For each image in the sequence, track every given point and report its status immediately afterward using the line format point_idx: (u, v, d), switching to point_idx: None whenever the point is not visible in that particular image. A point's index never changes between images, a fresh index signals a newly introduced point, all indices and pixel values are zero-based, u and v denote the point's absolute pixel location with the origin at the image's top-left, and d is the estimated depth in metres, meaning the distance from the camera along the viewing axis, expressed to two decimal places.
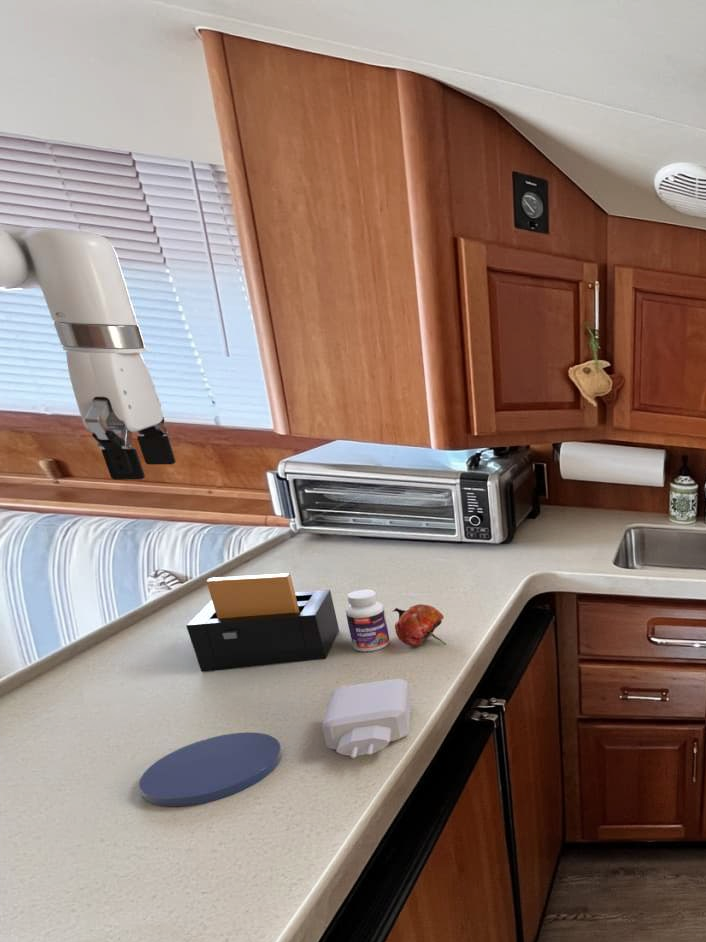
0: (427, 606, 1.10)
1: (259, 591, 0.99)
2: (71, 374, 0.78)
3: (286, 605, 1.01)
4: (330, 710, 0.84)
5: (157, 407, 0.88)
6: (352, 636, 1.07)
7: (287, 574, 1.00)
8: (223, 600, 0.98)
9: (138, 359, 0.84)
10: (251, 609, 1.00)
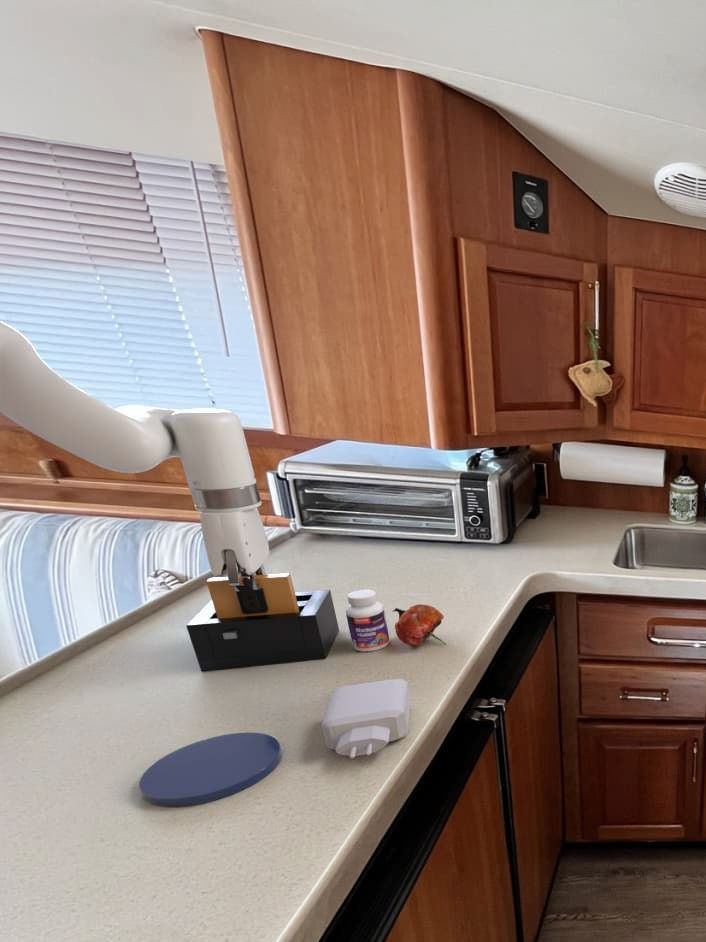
0: (427, 606, 1.10)
1: None
2: (204, 532, 0.90)
3: (286, 605, 1.01)
4: (329, 710, 0.84)
5: (266, 546, 1.00)
6: (352, 636, 1.07)
7: (287, 574, 1.00)
8: (223, 600, 0.98)
9: (254, 509, 0.96)
10: None
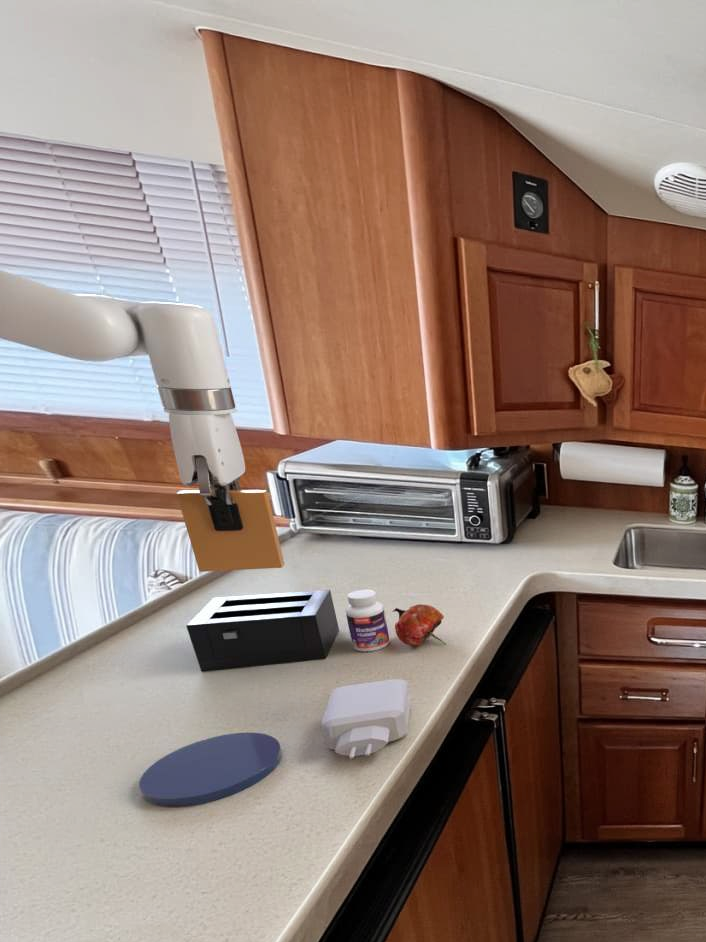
0: (427, 606, 1.10)
1: None
2: (173, 435, 0.85)
3: (262, 524, 0.96)
4: (329, 710, 0.84)
5: (241, 460, 0.95)
6: (352, 636, 1.07)
7: (263, 491, 0.95)
8: (194, 515, 0.92)
9: (228, 417, 0.91)
10: None
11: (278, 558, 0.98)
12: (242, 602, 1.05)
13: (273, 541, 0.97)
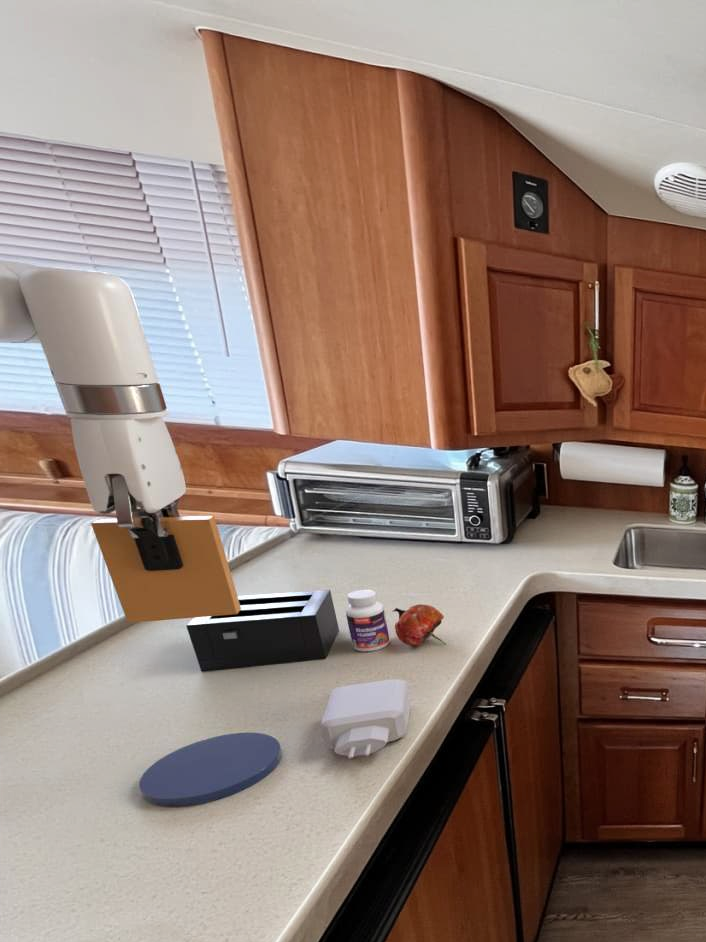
0: (427, 606, 1.10)
1: None
2: (77, 447, 0.63)
3: (209, 560, 0.74)
4: (328, 710, 0.84)
5: (180, 477, 0.73)
6: (352, 636, 1.07)
7: (209, 517, 0.73)
8: (117, 551, 0.70)
9: (158, 423, 0.69)
10: None
11: (232, 603, 0.76)
12: (242, 602, 1.05)
13: (225, 582, 0.75)
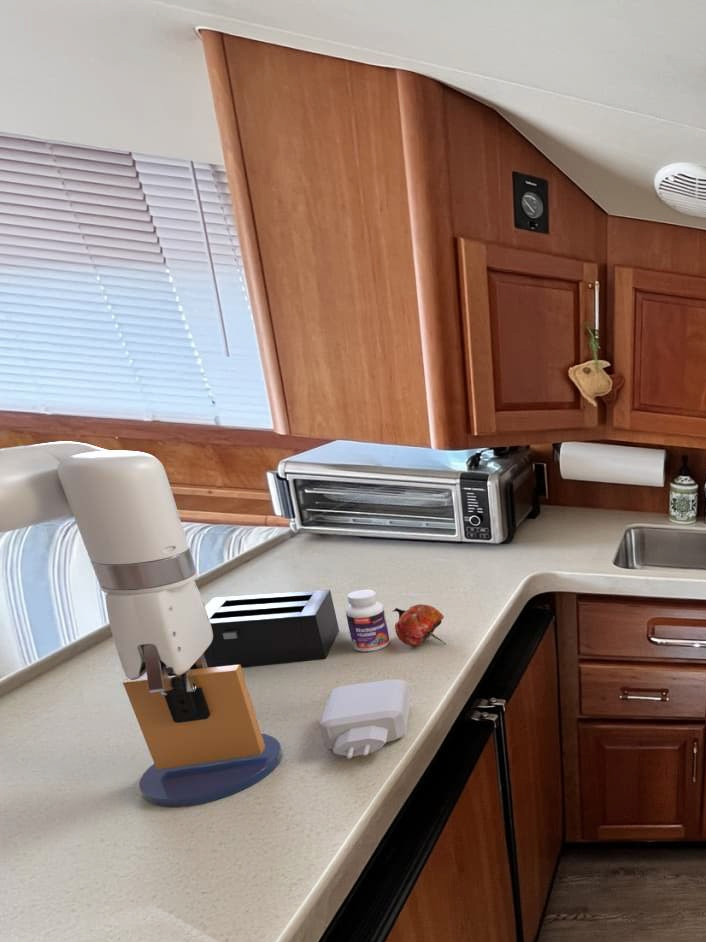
0: (427, 606, 1.10)
1: None
2: (111, 622, 0.65)
3: (235, 707, 0.76)
4: (327, 709, 0.84)
5: (207, 629, 0.75)
6: (352, 636, 1.07)
7: (235, 667, 0.75)
8: (148, 705, 0.72)
9: (188, 584, 0.71)
10: None
11: (257, 744, 0.78)
12: (242, 602, 1.05)
13: (250, 725, 0.77)
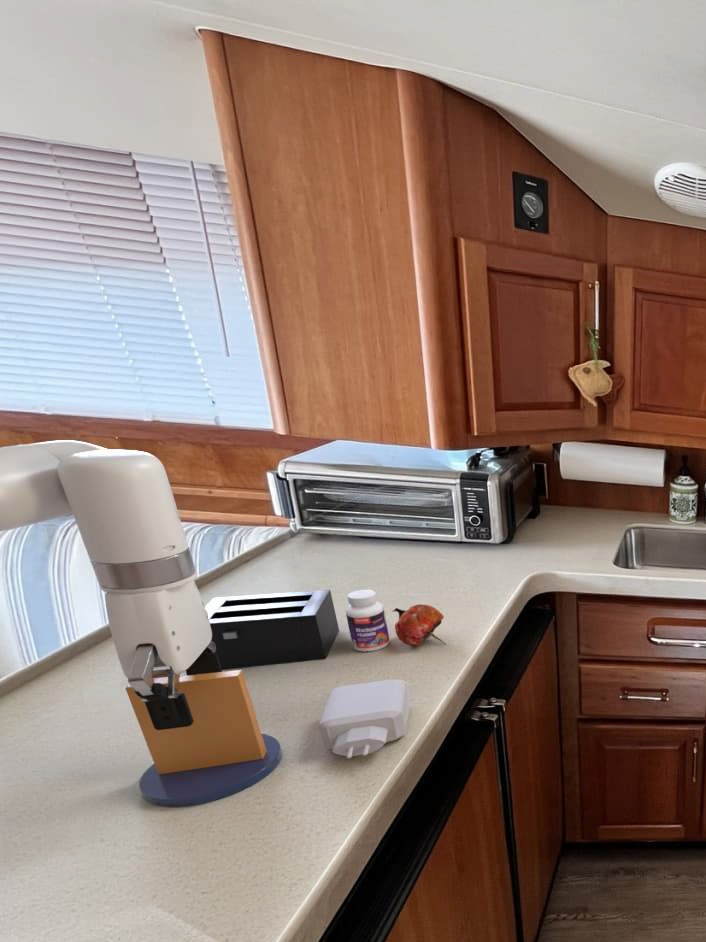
0: (427, 606, 1.10)
1: (200, 696, 0.74)
2: (111, 622, 0.65)
3: (237, 712, 0.76)
4: (327, 709, 0.84)
5: (206, 628, 0.75)
6: (352, 636, 1.07)
7: (237, 672, 0.75)
8: None
9: (187, 583, 0.71)
10: None
11: (258, 749, 0.79)
12: (242, 602, 1.05)
13: (252, 730, 0.78)
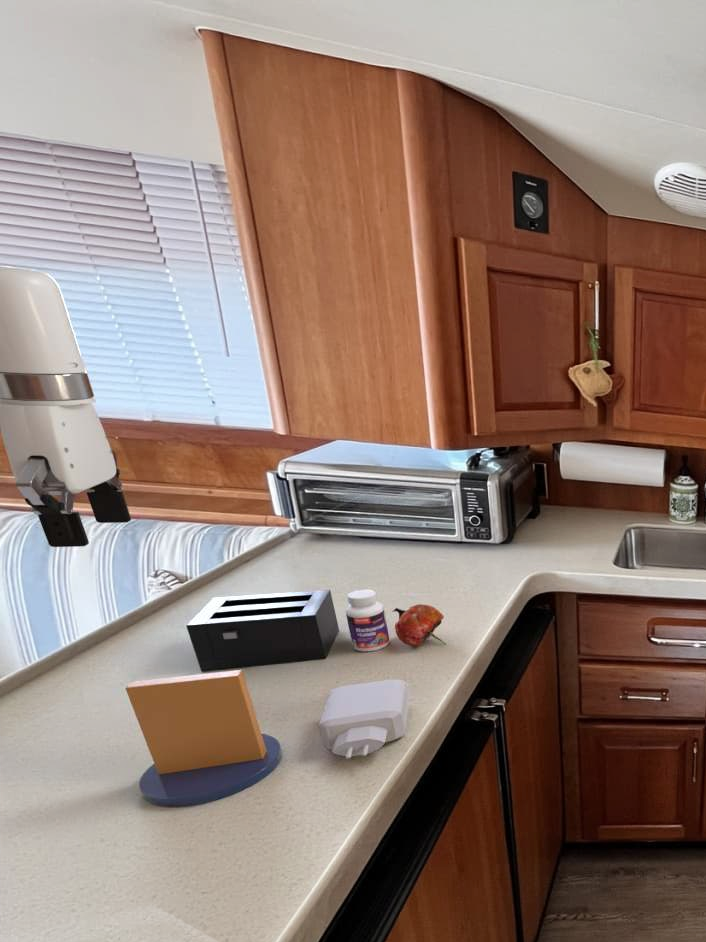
0: (427, 606, 1.10)
1: (200, 696, 0.74)
2: (2, 430, 0.68)
3: (237, 712, 0.76)
4: (327, 709, 0.84)
5: (109, 461, 0.78)
6: (352, 636, 1.07)
7: (237, 672, 0.75)
8: (150, 711, 0.73)
9: (86, 409, 0.74)
10: (189, 720, 0.74)
11: (258, 749, 0.79)
12: (242, 602, 1.05)
13: (252, 730, 0.78)
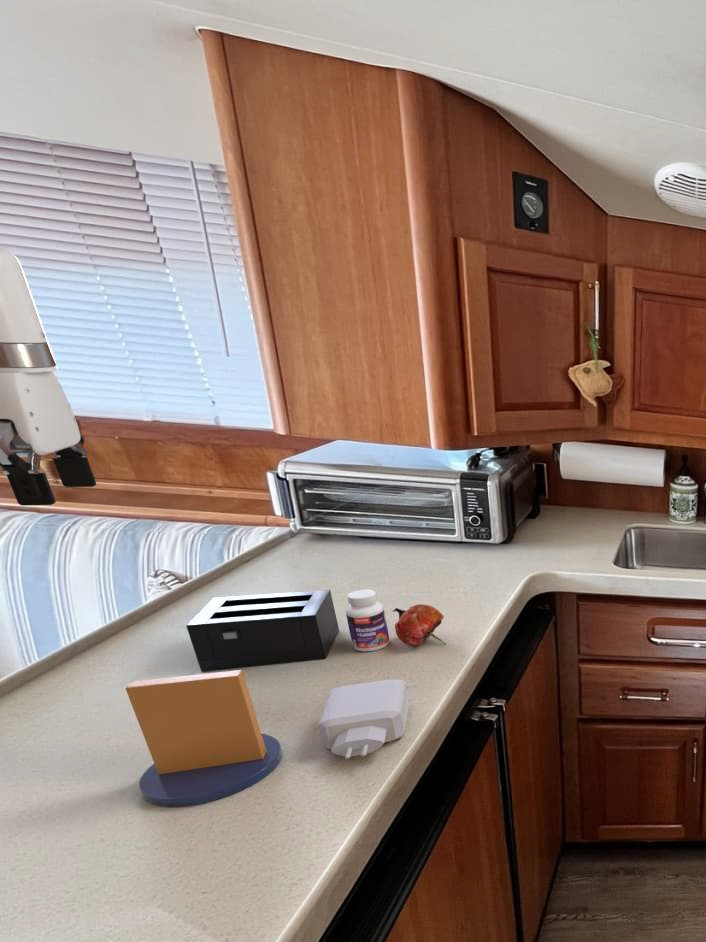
0: (427, 606, 1.10)
1: (200, 696, 0.74)
2: None
3: (237, 712, 0.76)
4: (326, 709, 0.84)
5: (73, 428, 0.84)
6: (352, 636, 1.07)
7: (237, 672, 0.75)
8: (150, 711, 0.73)
9: (49, 378, 0.80)
10: (189, 720, 0.74)
11: (258, 749, 0.79)
12: (242, 602, 1.05)
13: (252, 730, 0.78)
